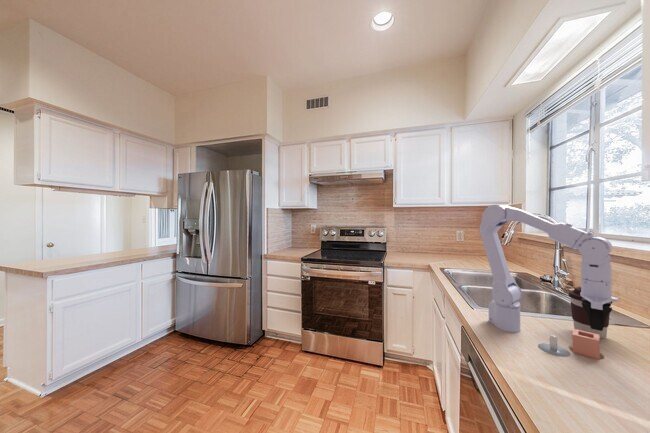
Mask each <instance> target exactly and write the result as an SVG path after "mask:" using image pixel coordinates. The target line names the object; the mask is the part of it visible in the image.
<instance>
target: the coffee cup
mask: <svg viewBox="0 0 650 433" xmlns="http://www.w3.org/2000/svg"><path fill="white" fill-rule="evenodd" d="M580 293H581V286H576V287H574V289H573V290H569V291H568V293H567V294H568V295H567V296H568V297H569V298H570V309H571V317H572V320H573V329H578V330H582V331H586V332H590V333H595V334H599V339H607V338H608V336H607V335H608V327H609V326H610V317H611V316H610V314H611V312H610V313H609V314H608V316H607V318H606V320H605V324H604V328H603V330H602V331H599V330H595V329H591V327H590V324H589V320H588V316H587V313H586V311H585V309H584V308H583V306H582V304H581V303H582V298H583V297H581V296H580ZM612 304H613V301H611V305H612Z"/></svg>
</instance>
